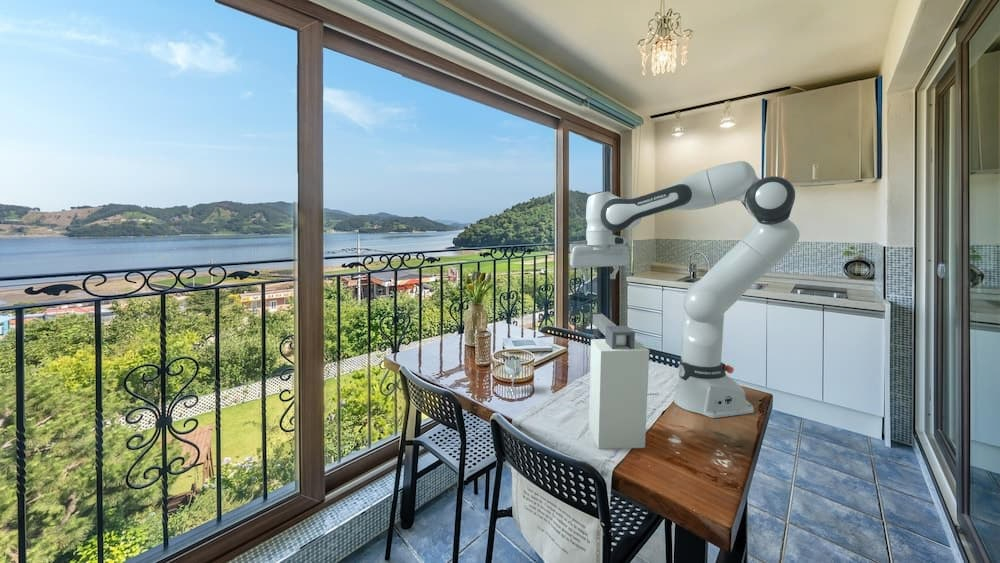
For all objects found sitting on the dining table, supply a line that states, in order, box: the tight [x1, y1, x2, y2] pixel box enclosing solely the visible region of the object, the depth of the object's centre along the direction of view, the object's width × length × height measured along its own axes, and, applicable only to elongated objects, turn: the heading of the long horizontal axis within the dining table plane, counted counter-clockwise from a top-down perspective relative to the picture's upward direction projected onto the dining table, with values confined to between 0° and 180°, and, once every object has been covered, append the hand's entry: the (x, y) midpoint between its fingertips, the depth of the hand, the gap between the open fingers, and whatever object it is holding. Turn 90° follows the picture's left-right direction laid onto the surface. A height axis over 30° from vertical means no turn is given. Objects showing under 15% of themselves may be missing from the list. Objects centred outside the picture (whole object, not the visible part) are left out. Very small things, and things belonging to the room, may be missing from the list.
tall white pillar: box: [588, 325, 650, 450], centre depth 104 cm, size 12×10×30 cm
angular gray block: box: [590, 312, 627, 346], centre depth 113 cm, size 3×24×3 cm, turn 1°
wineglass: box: [503, 355, 522, 395], centre depth 135 cm, size 6×6×12 cm
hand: (599, 279), depth 138 cm, fingers open, 8 cm apart
